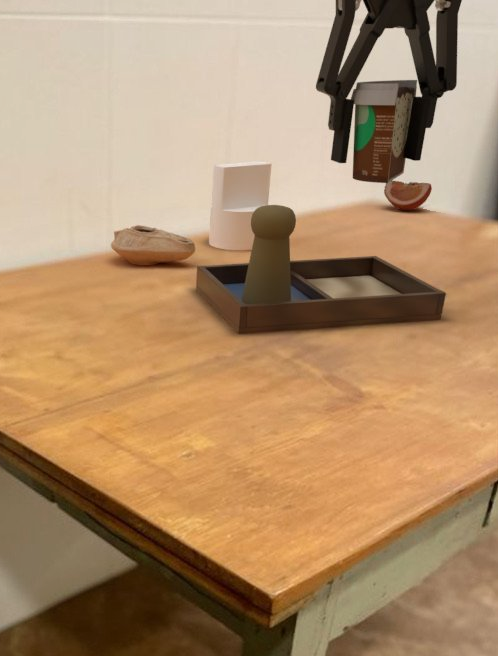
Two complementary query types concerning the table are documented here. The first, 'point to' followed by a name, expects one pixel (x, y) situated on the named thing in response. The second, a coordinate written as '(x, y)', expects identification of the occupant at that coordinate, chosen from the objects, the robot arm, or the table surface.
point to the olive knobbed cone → (270, 256)
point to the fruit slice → (407, 194)
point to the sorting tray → (323, 296)
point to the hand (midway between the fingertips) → (375, 160)
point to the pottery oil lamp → (151, 245)
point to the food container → (381, 128)
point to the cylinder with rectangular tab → (237, 202)
